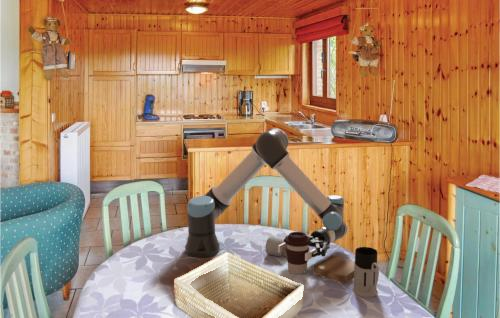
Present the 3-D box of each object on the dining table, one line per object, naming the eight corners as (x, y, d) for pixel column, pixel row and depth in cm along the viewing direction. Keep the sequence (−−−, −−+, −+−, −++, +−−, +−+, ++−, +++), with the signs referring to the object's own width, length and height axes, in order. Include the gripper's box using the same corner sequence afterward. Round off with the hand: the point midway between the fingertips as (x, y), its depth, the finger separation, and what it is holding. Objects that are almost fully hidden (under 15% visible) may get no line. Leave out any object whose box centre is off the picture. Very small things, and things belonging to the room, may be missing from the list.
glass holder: (371, 284, 161) (373, 245, 158) (389, 303, 147) (391, 261, 144) (348, 286, 159) (349, 247, 157) (364, 305, 145) (365, 263, 143)
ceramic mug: (283, 259, 183) (283, 242, 182) (265, 256, 187) (265, 239, 185) (291, 251, 192) (292, 234, 191) (274, 248, 196) (274, 231, 195)
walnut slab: (313, 273, 170) (313, 266, 170) (331, 261, 180) (332, 254, 180) (345, 283, 161) (345, 276, 160) (363, 271, 171) (363, 263, 171)
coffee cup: (292, 278, 166) (292, 240, 163) (280, 268, 175) (280, 232, 172) (314, 273, 170) (315, 236, 167) (301, 263, 179) (302, 228, 176)
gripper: (347, 253, 177) (318, 271, 161) (298, 239, 193) (267, 254, 177) (348, 235, 176) (319, 251, 160) (298, 223, 191) (267, 236, 176)
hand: (292, 253), depth 168 cm, fingers open, 12 cm apart
